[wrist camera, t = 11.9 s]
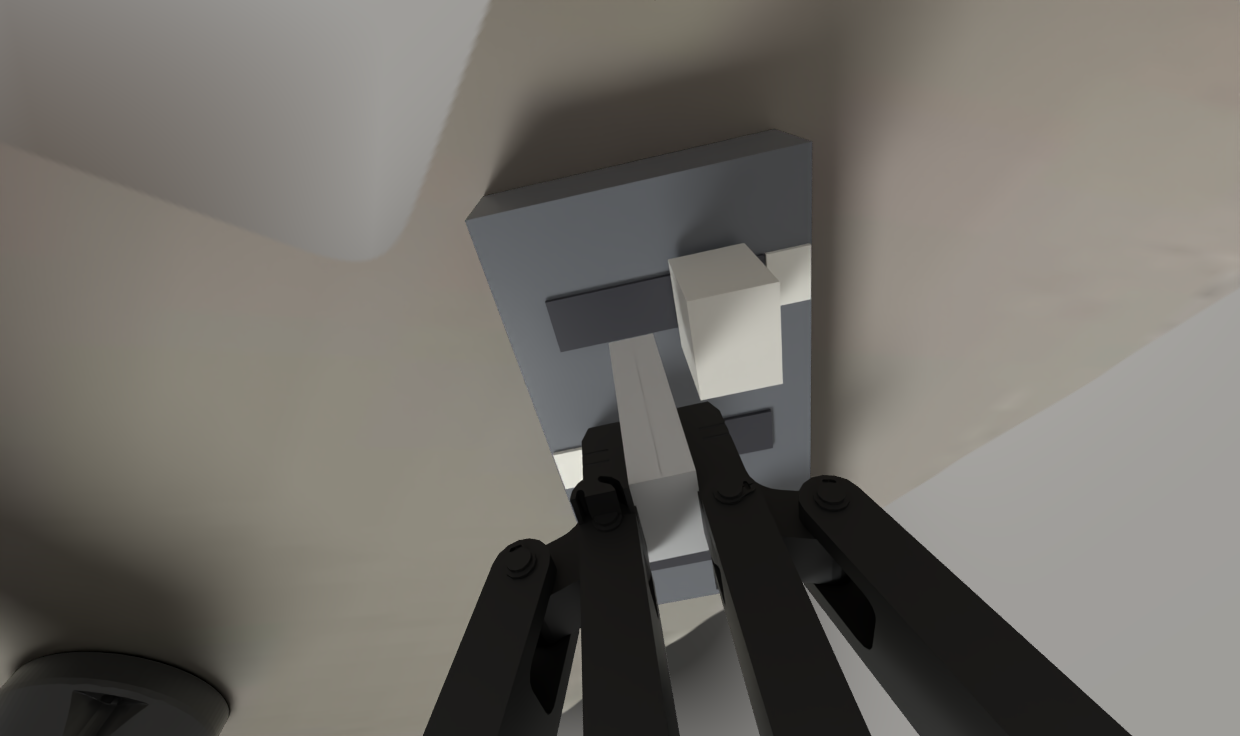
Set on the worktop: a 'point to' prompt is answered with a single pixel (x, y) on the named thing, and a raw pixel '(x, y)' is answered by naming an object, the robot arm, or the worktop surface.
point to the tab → (728, 320)
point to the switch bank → (654, 297)
